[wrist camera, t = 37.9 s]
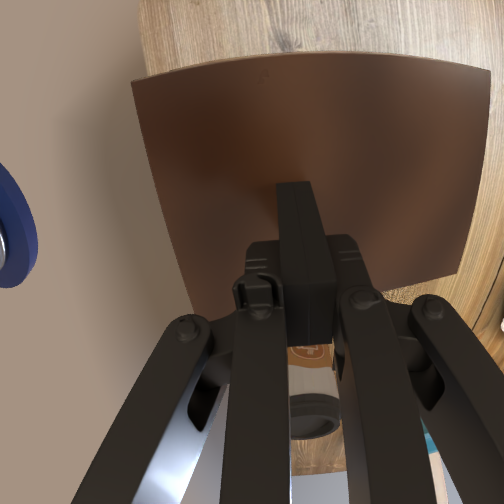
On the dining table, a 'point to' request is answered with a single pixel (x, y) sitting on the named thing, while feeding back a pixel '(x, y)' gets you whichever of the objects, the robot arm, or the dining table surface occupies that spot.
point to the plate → (502, 324)
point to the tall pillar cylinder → (438, 478)
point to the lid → (316, 160)
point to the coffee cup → (312, 392)
